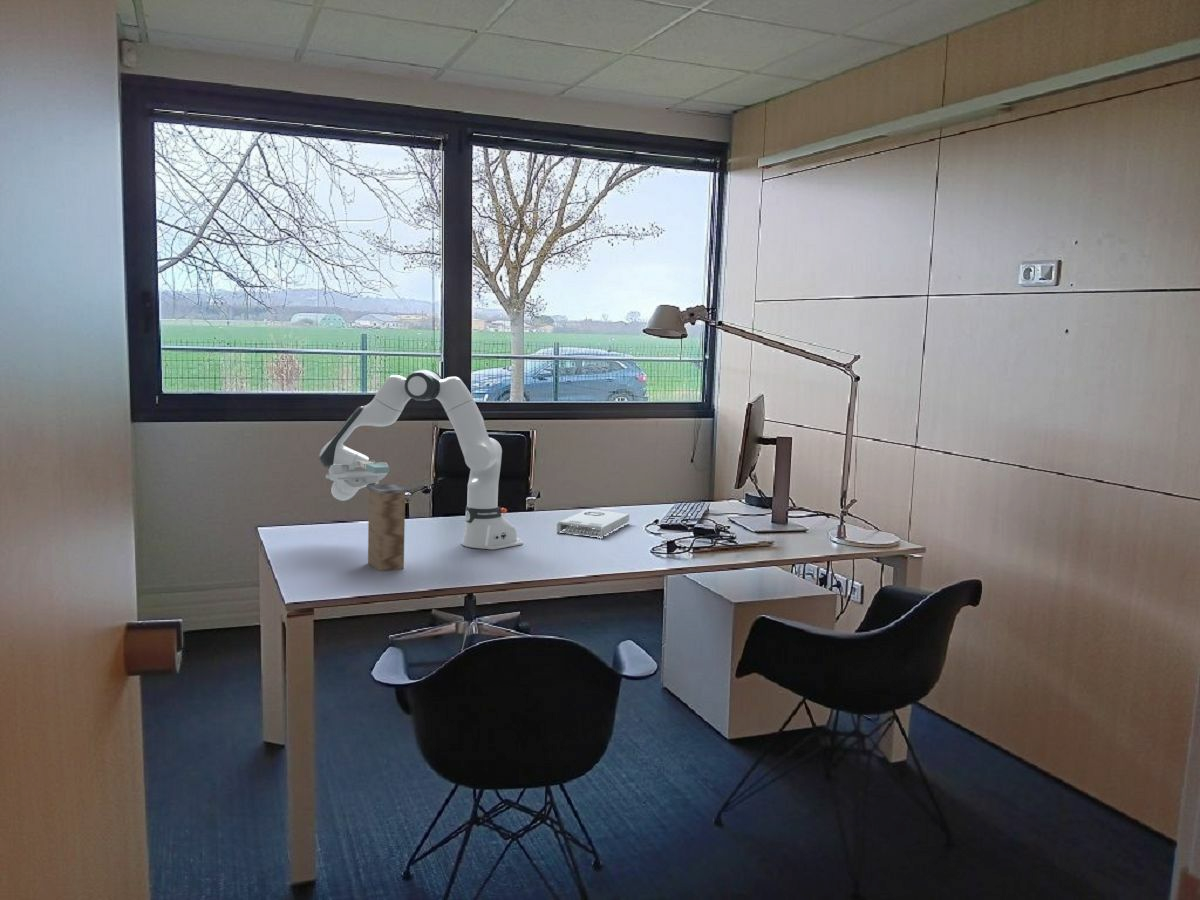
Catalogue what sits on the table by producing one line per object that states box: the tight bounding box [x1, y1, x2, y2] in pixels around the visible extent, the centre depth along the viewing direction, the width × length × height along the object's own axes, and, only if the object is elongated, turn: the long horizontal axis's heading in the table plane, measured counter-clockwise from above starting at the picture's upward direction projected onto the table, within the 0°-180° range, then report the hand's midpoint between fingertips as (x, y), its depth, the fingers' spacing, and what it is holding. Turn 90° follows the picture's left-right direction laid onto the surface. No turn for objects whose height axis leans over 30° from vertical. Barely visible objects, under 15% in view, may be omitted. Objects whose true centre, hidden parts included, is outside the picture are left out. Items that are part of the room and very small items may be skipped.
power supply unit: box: [556, 508, 630, 537], centre depth 360 cm, size 19×33×5 cm, turn 159°
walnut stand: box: [366, 483, 408, 572], centre depth 287 cm, size 9×11×26 cm
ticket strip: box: [355, 460, 390, 474], centre depth 297 cm, size 5×20×2 cm, turn 34°
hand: (365, 462), depth 302 cm, fingers closed on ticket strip, 4 cm apart
